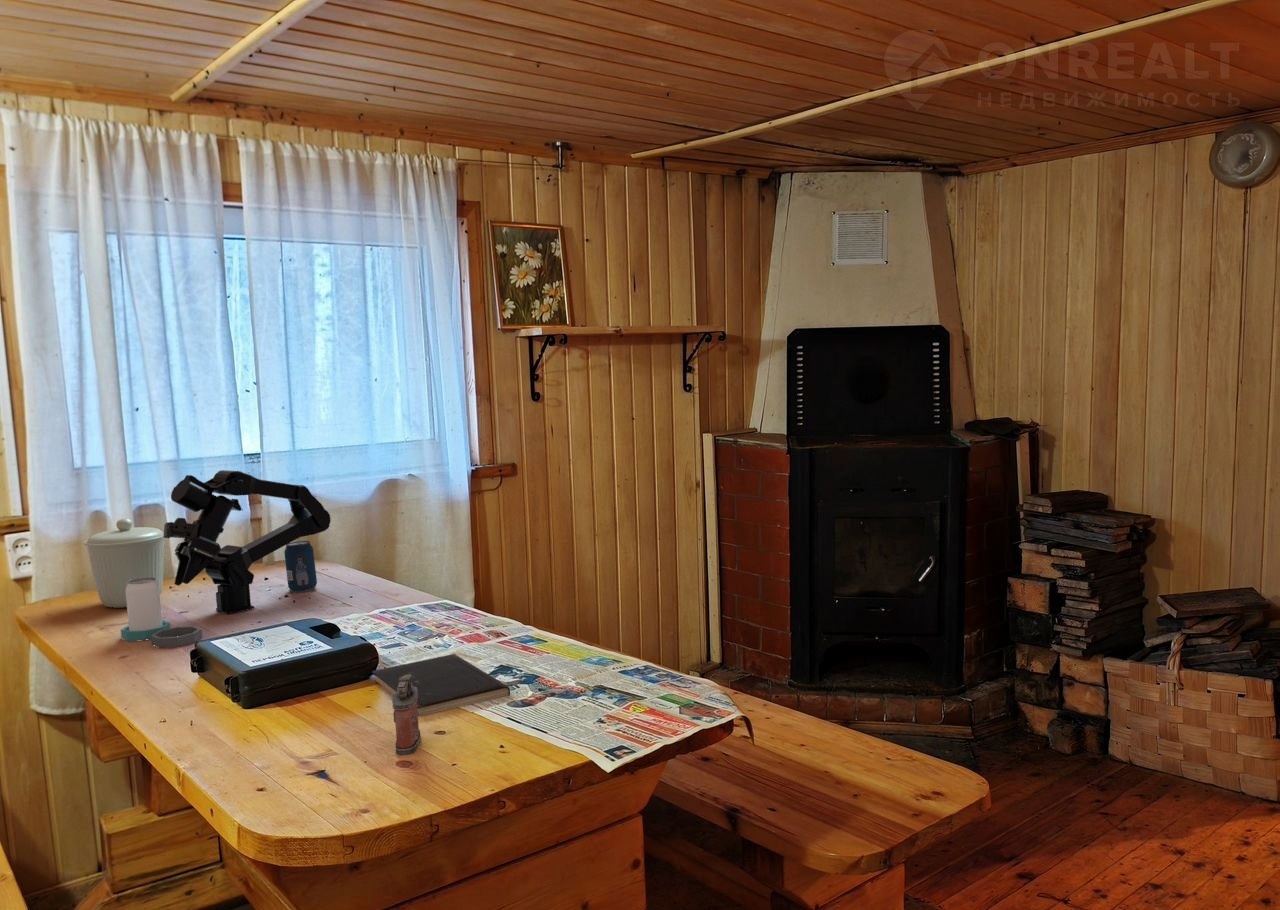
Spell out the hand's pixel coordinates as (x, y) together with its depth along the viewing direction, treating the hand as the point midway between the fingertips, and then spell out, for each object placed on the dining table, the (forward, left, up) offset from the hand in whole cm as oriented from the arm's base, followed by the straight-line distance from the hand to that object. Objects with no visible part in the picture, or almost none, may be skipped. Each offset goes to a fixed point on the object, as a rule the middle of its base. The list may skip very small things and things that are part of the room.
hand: (180, 584), depth 221 cm
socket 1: (+10, +3, -9) cm, 13 cm away
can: (+9, +3, -9) cm, 13 cm away
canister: (0, -32, -9) cm, 33 cm away
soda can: (-32, -7, -9) cm, 34 cm away
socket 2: (+8, +14, -9) cm, 18 cm away
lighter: (+11, +102, -9) cm, 103 cm away
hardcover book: (-8, +85, -10) cm, 86 cm away
